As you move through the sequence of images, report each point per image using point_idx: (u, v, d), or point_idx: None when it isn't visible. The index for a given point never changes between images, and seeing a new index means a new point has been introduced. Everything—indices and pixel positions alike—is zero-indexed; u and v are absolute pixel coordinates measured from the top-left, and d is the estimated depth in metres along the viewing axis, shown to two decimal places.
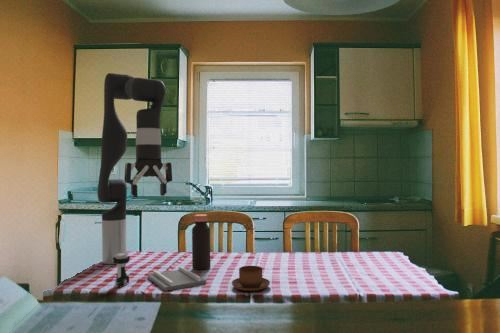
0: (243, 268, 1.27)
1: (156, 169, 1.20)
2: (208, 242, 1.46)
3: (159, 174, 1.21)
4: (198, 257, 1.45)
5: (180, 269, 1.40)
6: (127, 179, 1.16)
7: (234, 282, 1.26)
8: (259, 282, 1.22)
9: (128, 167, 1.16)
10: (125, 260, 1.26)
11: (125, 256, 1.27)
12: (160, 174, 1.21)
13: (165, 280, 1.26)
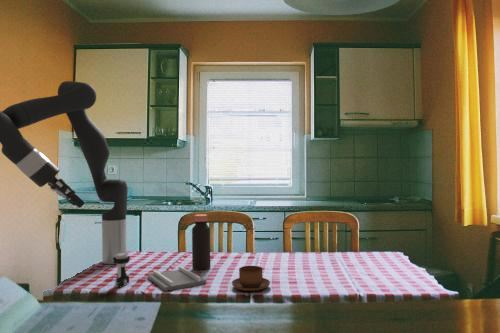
0: (243, 268, 1.27)
1: (54, 190, 1.17)
2: (208, 242, 1.46)
3: (59, 194, 1.16)
4: (198, 257, 1.45)
5: (180, 269, 1.40)
6: (59, 194, 1.25)
7: (234, 282, 1.26)
8: (259, 282, 1.22)
9: (50, 186, 1.23)
10: (125, 260, 1.26)
11: (125, 256, 1.27)
12: (60, 194, 1.16)
13: (165, 280, 1.26)
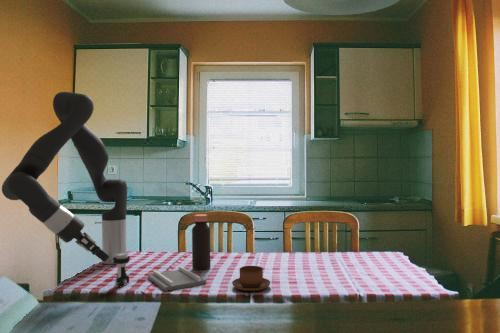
0: (244, 268, 1.27)
1: (80, 245, 1.19)
2: (208, 242, 1.46)
3: (85, 249, 1.19)
4: (198, 257, 1.45)
5: (180, 269, 1.40)
6: None
7: (234, 282, 1.26)
8: (259, 282, 1.22)
9: None
10: (125, 260, 1.26)
11: (125, 256, 1.27)
12: (85, 249, 1.19)
13: (165, 280, 1.26)
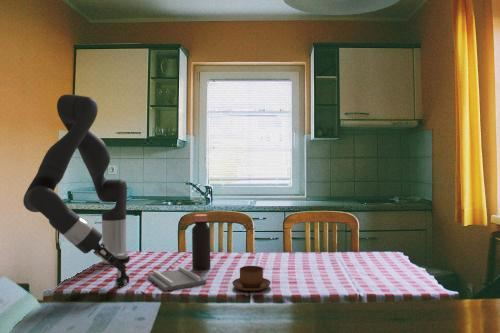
0: (244, 268, 1.27)
1: (98, 256, 1.22)
2: (208, 242, 1.46)
3: (103, 259, 1.22)
4: (198, 257, 1.45)
5: (180, 269, 1.40)
6: None
7: (235, 282, 1.26)
8: (260, 282, 1.22)
9: None
10: (125, 260, 1.26)
11: (125, 256, 1.27)
12: (103, 260, 1.21)
13: (165, 280, 1.26)
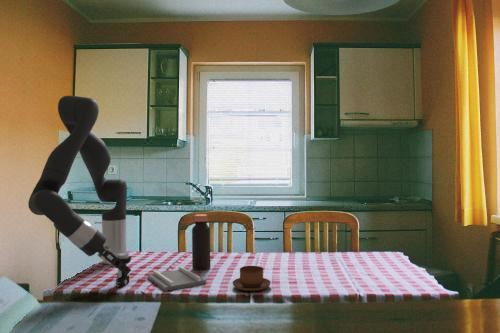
0: (244, 268, 1.27)
1: None
2: (208, 242, 1.46)
3: (107, 262, 1.23)
4: (198, 257, 1.45)
5: (180, 269, 1.40)
6: None
7: (235, 282, 1.26)
8: (260, 282, 1.22)
9: None
10: (126, 260, 1.26)
11: (126, 256, 1.27)
12: (108, 263, 1.23)
13: (165, 280, 1.26)
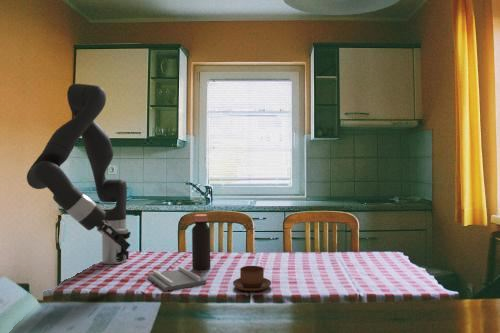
0: (244, 268, 1.27)
1: (102, 233, 1.23)
2: (208, 242, 1.46)
3: (107, 237, 1.23)
4: (198, 257, 1.45)
5: (180, 269, 1.40)
6: None
7: (235, 282, 1.25)
8: (260, 282, 1.21)
9: None
10: (126, 235, 1.26)
11: (126, 231, 1.27)
12: (107, 237, 1.23)
13: (165, 280, 1.26)
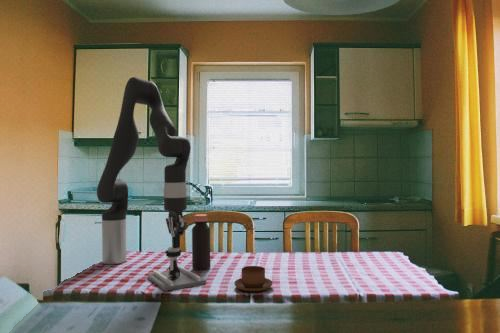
0: (246, 268, 1.27)
1: (171, 220, 1.30)
2: (208, 242, 1.46)
3: (171, 226, 1.30)
4: (198, 257, 1.45)
5: (180, 269, 1.40)
6: (169, 231, 1.34)
7: (237, 282, 1.25)
8: (262, 282, 1.21)
9: (166, 222, 1.36)
10: (177, 253, 1.30)
11: (177, 249, 1.30)
12: (172, 227, 1.30)
13: (165, 280, 1.26)
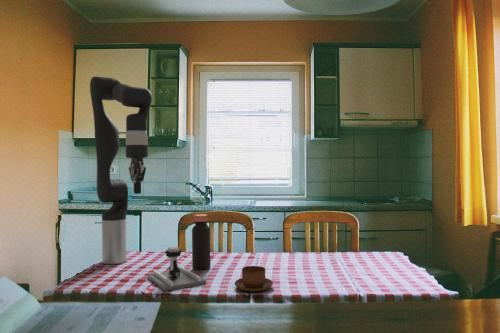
0: (246, 268, 1.27)
1: (132, 167, 1.36)
2: (208, 242, 1.46)
3: (133, 172, 1.36)
4: (198, 257, 1.45)
5: (180, 269, 1.40)
6: (131, 178, 1.40)
7: (237, 282, 1.25)
8: (262, 282, 1.21)
9: (129, 170, 1.42)
10: (177, 253, 1.30)
11: (177, 249, 1.30)
12: (133, 173, 1.36)
13: (165, 280, 1.26)
